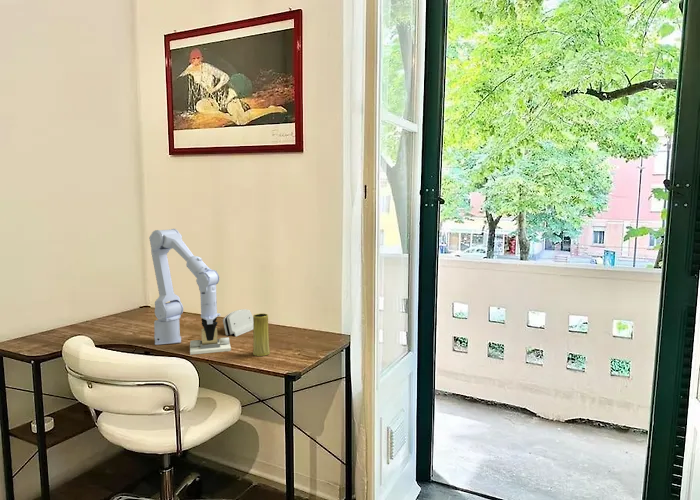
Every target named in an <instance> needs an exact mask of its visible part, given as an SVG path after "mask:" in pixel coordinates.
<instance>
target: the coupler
mask: <svg viewBox="0 0 700 500" xmlns="http://www.w3.org/2000/svg"><path fill="white" fill-rule="evenodd" d="M217 339H218V327H217V326H216V328H215V332H214V338H213V340H211V341H207V338H206V333H205V330H204V327H203V328H201V340H202V345H209V344H218V341H217Z"/></svg>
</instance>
